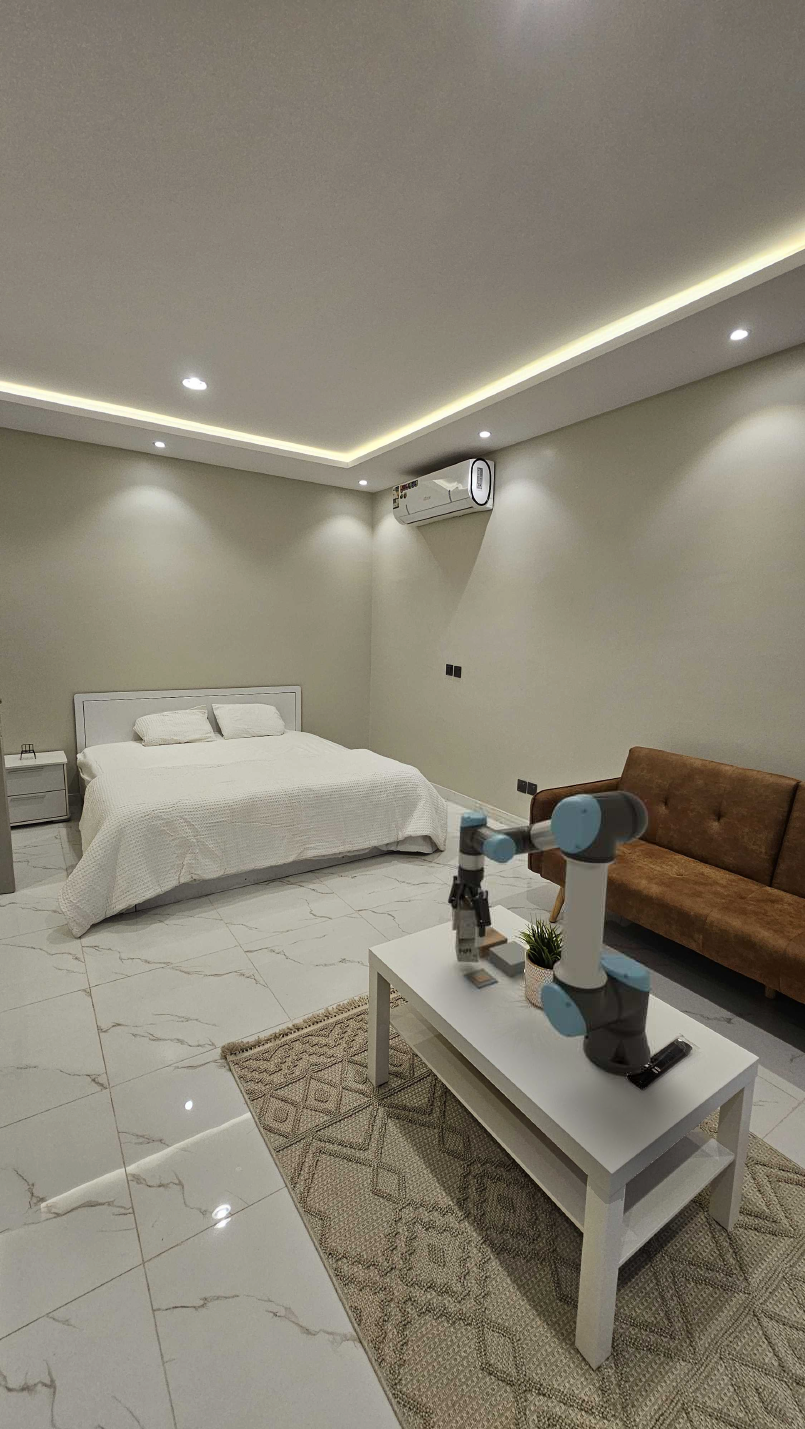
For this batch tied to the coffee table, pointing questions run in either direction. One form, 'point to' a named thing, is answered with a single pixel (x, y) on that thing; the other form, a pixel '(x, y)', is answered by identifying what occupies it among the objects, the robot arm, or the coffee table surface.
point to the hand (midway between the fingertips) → (467, 937)
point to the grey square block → (508, 958)
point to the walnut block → (491, 941)
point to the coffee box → (466, 932)
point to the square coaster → (480, 978)
